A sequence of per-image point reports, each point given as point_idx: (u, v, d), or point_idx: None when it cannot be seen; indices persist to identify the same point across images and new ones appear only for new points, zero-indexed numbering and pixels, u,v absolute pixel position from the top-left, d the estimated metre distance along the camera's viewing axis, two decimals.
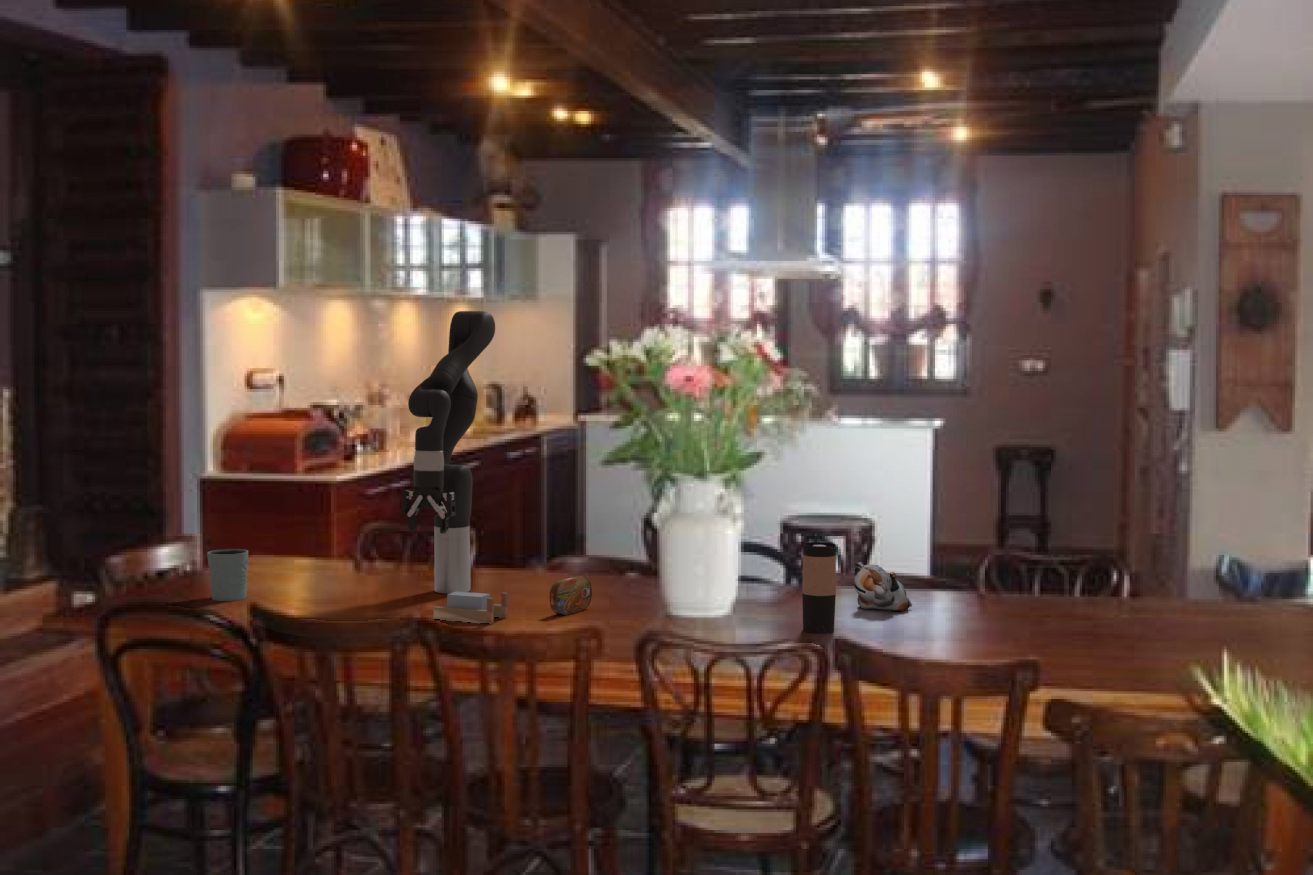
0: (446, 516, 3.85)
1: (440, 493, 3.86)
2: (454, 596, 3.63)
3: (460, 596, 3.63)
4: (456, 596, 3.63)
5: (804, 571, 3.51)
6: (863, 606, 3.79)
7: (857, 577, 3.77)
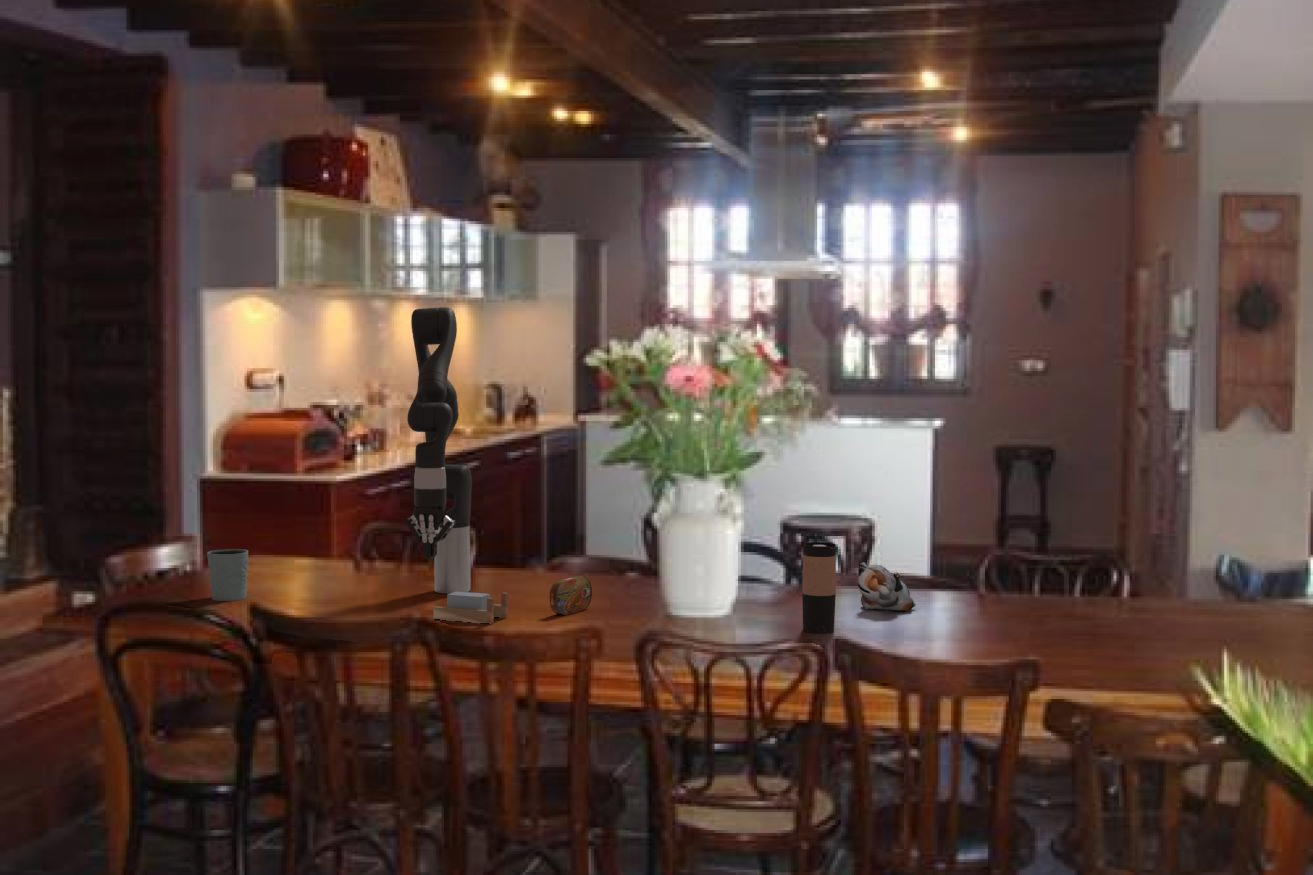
0: (434, 542, 3.66)
1: (443, 515, 3.64)
2: (454, 596, 3.63)
3: (460, 596, 3.63)
4: (456, 596, 3.63)
5: (804, 571, 3.51)
6: (867, 606, 3.79)
7: (861, 578, 3.76)
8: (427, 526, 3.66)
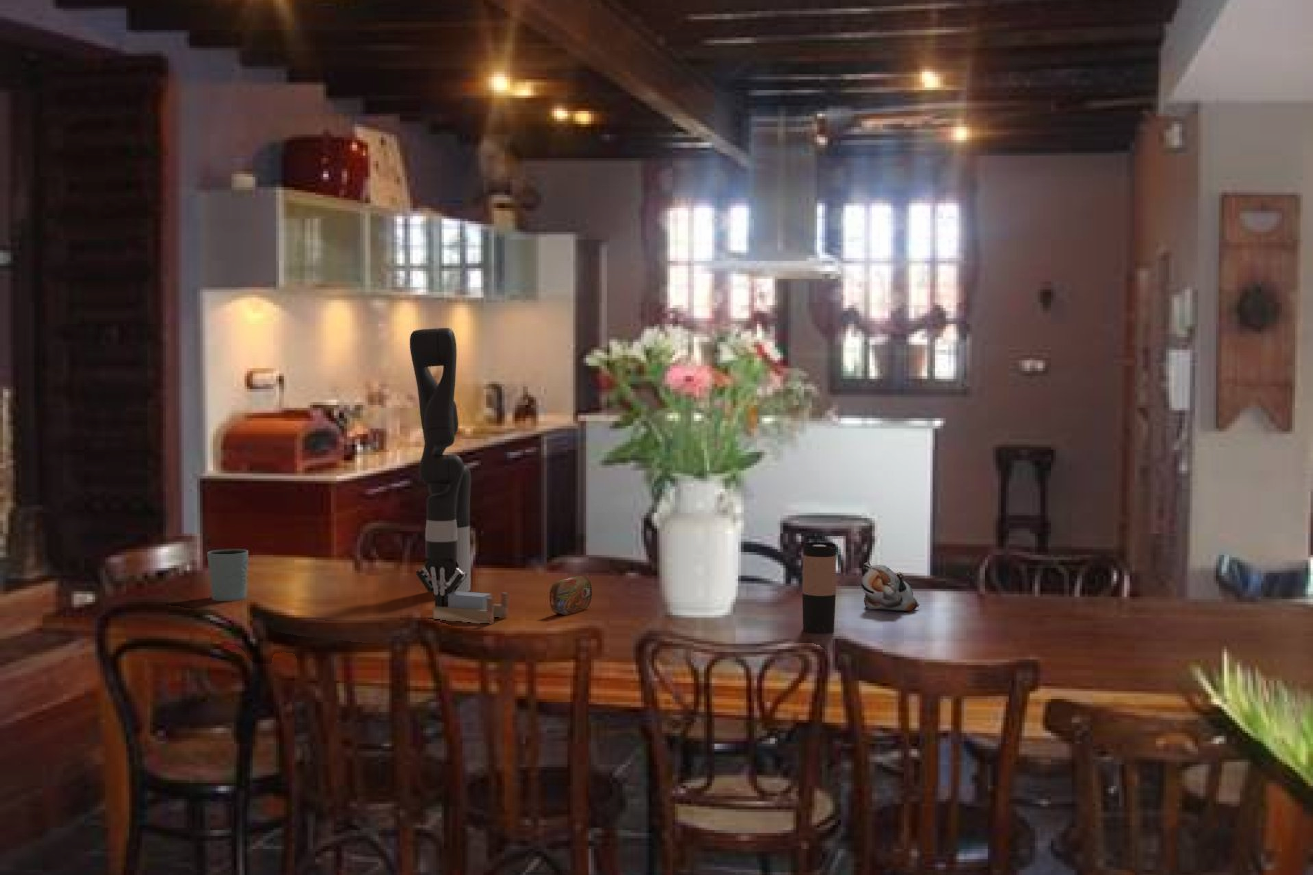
0: (445, 595, 3.66)
1: (454, 567, 3.64)
2: (455, 596, 3.63)
3: (461, 596, 3.63)
4: (457, 596, 3.63)
5: (804, 571, 3.51)
6: (871, 607, 3.78)
7: (865, 578, 3.76)
8: (438, 578, 3.66)
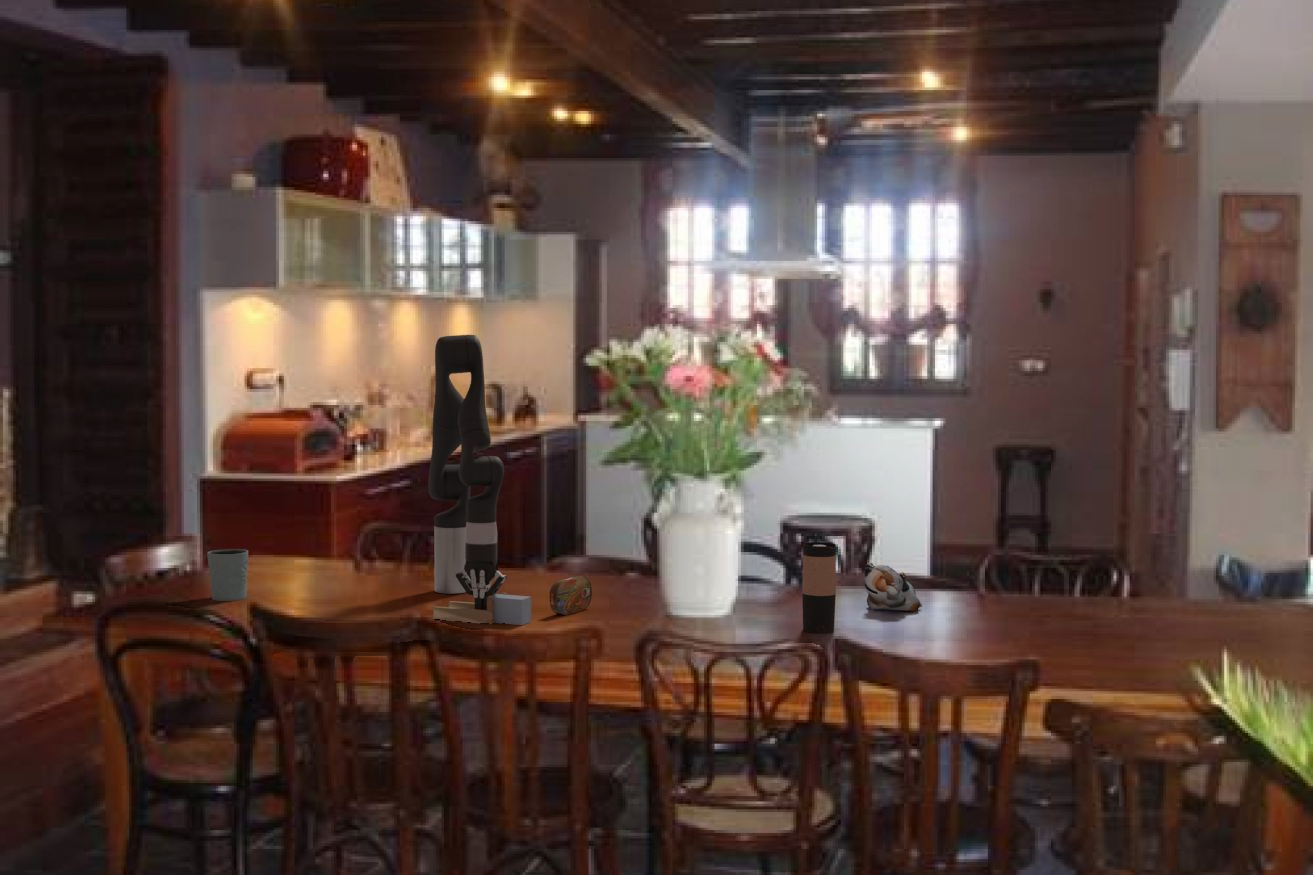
0: (485, 598, 3.62)
1: (494, 570, 3.60)
2: (495, 599, 3.59)
3: (501, 599, 3.59)
4: (497, 599, 3.59)
5: (804, 571, 3.51)
6: (874, 607, 3.78)
7: (869, 578, 3.76)
8: (478, 581, 3.62)
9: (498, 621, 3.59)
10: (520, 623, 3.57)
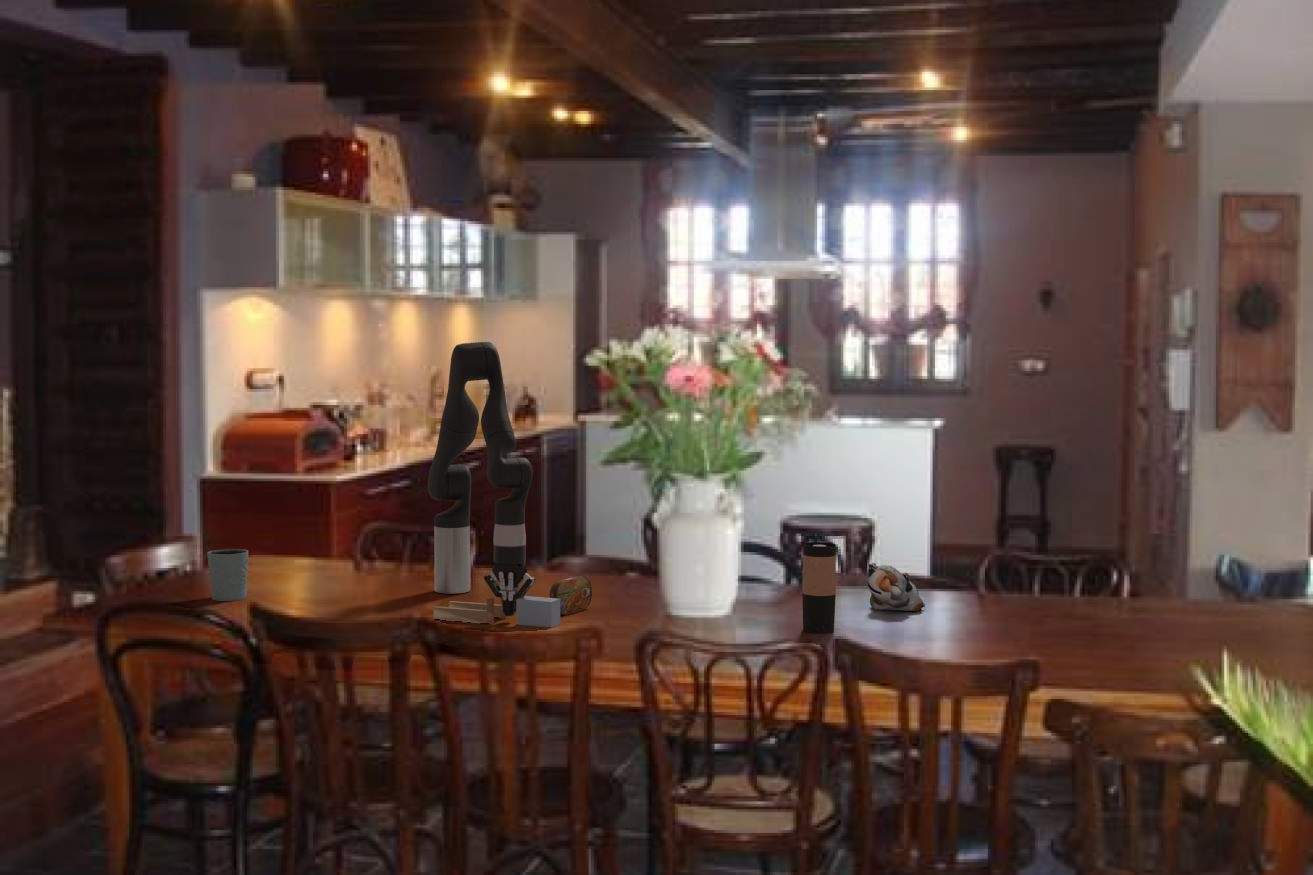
0: (513, 600, 3.60)
1: (523, 572, 3.58)
2: (524, 601, 3.57)
3: (530, 601, 3.56)
4: (526, 601, 3.57)
5: (804, 571, 3.51)
6: (877, 607, 3.78)
7: (872, 579, 3.75)
8: (506, 583, 3.60)
9: (527, 623, 3.57)
10: (549, 625, 3.55)
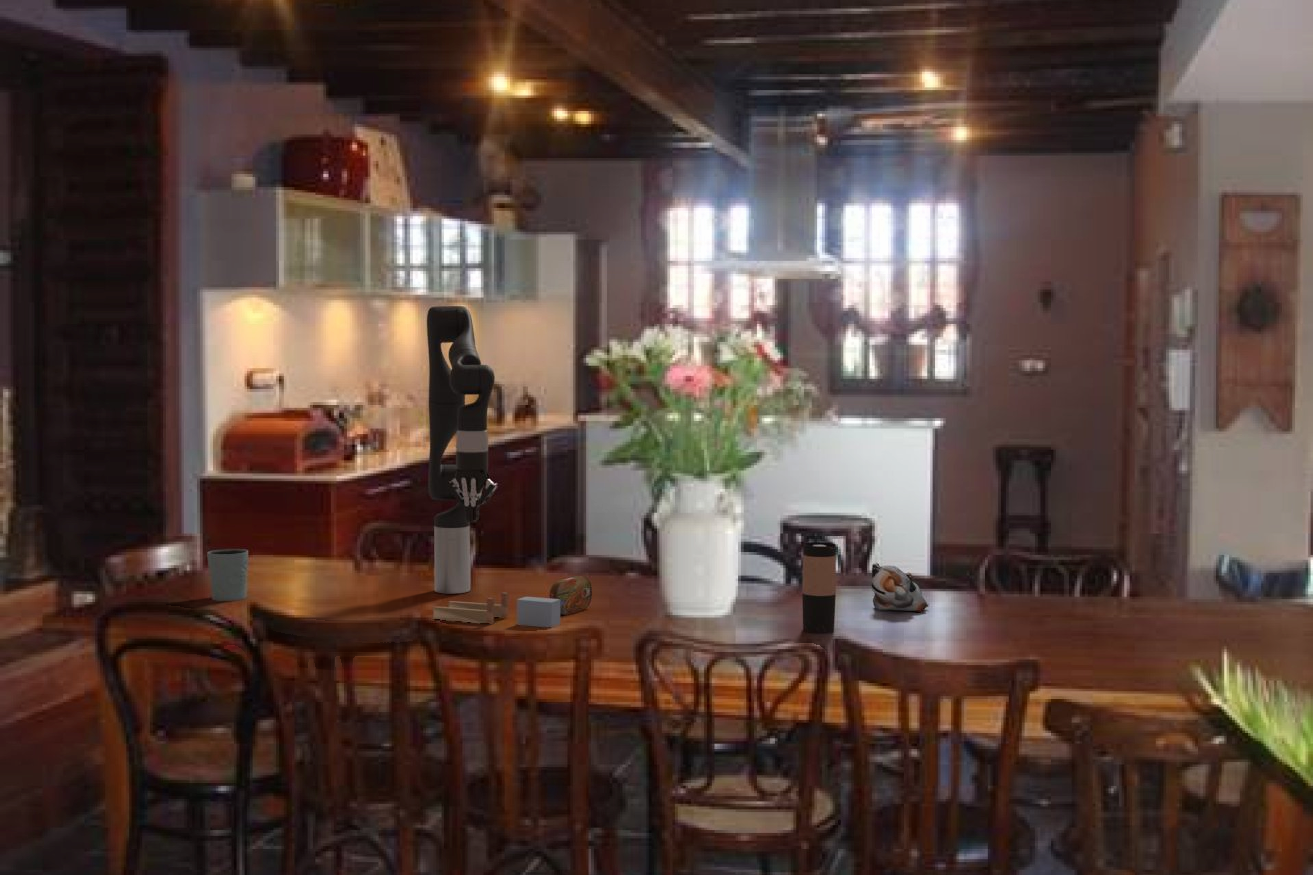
0: (476, 506, 3.63)
1: (485, 478, 3.61)
2: (524, 601, 3.57)
3: (530, 601, 3.56)
4: (526, 601, 3.57)
5: (804, 571, 3.51)
6: (881, 607, 3.77)
7: (876, 579, 3.75)
8: (469, 489, 3.63)
9: (527, 624, 3.57)
10: (549, 626, 3.55)
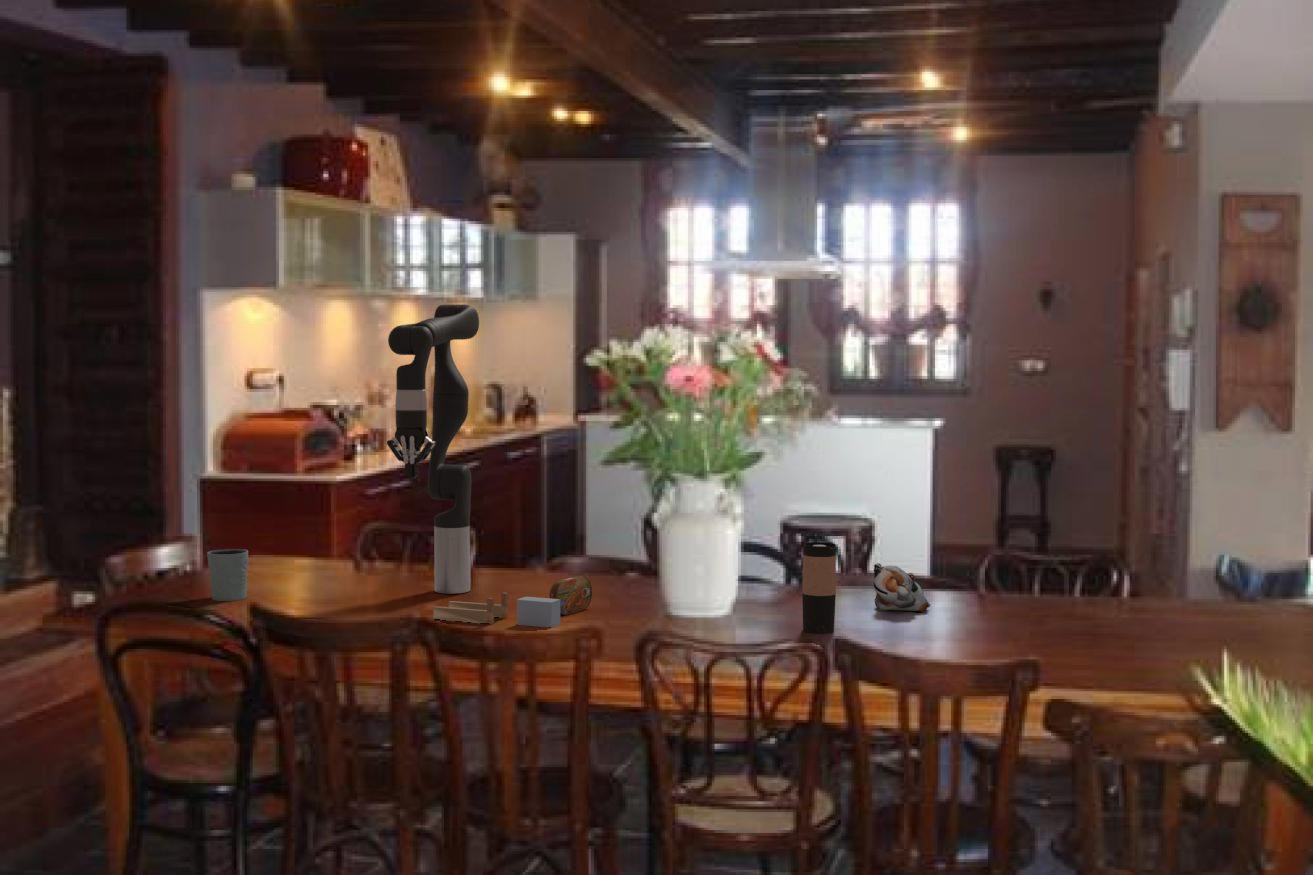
0: (415, 463, 3.74)
1: (423, 436, 3.73)
2: (524, 601, 3.57)
3: (530, 601, 3.56)
4: (526, 601, 3.57)
5: (804, 571, 3.51)
6: (883, 608, 3.77)
7: (878, 579, 3.75)
8: (408, 447, 3.74)
9: (527, 624, 3.57)
10: (549, 626, 3.55)
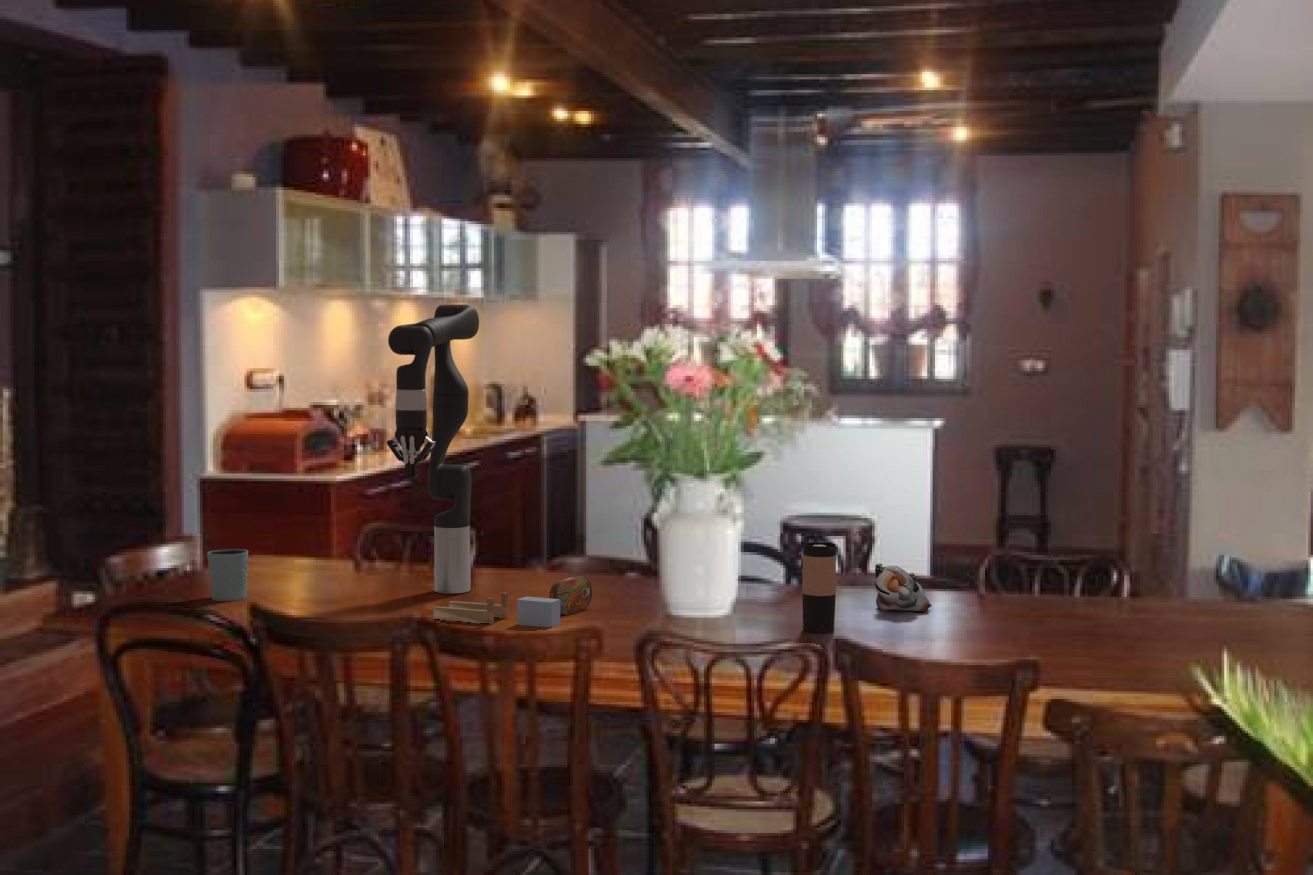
0: (415, 463, 3.74)
1: (423, 436, 3.73)
2: (524, 601, 3.57)
3: (530, 601, 3.56)
4: (526, 601, 3.57)
5: (804, 571, 3.51)
6: (884, 608, 3.77)
7: (880, 579, 3.75)
8: (408, 447, 3.74)
9: (527, 624, 3.57)
10: (549, 626, 3.55)
